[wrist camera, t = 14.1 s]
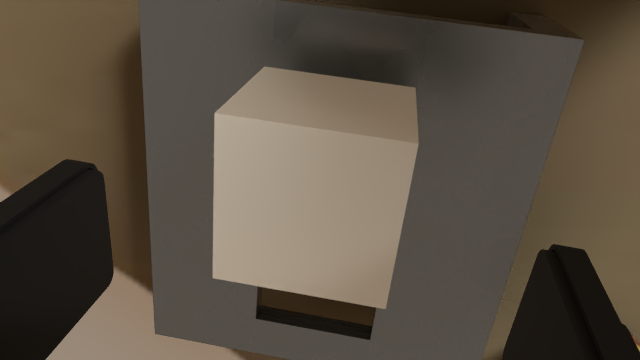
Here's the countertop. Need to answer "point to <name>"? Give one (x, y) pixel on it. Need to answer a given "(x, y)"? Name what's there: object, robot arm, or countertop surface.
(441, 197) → the slotted grey box
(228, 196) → the peg
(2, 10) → the countertop surface
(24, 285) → the robot arm
